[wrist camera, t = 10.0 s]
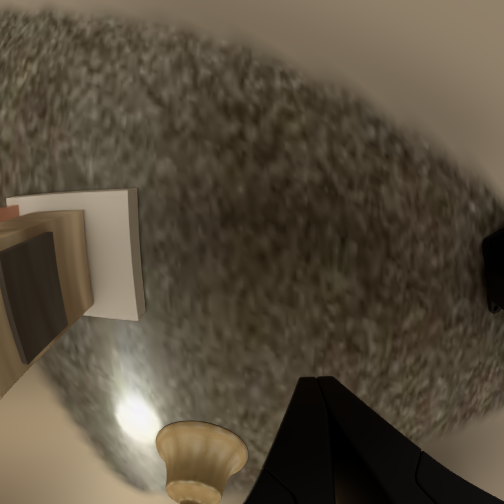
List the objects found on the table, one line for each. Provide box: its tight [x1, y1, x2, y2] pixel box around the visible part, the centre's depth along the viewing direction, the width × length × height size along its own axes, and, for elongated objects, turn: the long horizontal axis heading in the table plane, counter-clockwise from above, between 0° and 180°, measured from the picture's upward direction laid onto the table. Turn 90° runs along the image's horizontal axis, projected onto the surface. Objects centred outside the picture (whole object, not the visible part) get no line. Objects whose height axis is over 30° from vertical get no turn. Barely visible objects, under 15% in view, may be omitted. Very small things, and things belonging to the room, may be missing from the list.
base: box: [0, 188, 146, 321], centre depth 16 cm, size 10×8×6 cm
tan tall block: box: [0, 210, 94, 399], centre depth 12 cm, size 4×6×11 cm
